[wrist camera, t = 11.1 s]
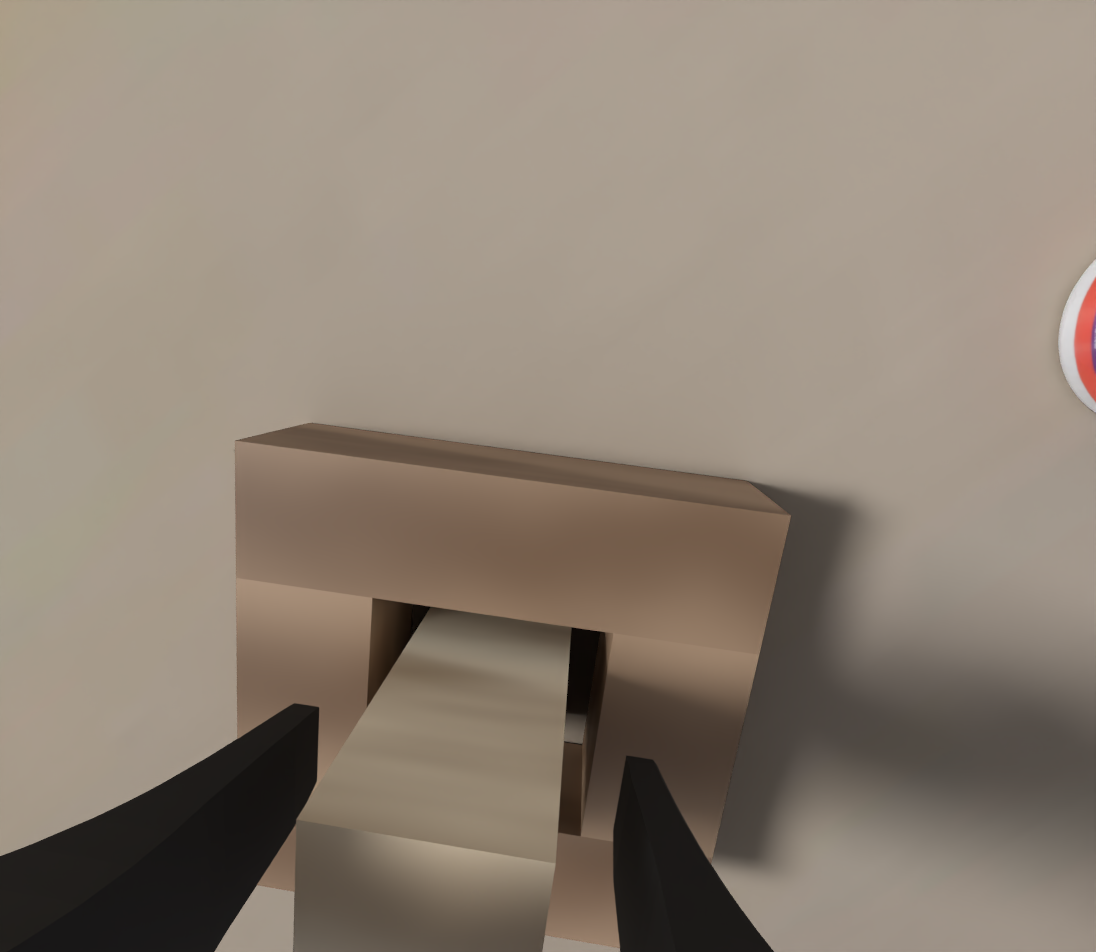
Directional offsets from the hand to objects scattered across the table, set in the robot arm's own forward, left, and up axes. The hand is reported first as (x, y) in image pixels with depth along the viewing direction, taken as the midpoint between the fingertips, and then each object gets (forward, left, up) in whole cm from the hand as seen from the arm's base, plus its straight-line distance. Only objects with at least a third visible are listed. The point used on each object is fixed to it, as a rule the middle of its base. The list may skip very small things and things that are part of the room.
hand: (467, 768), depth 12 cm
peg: (0, 0, -5) cm, 5 cm away
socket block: (0, 0, -5) cm, 5 cm away
